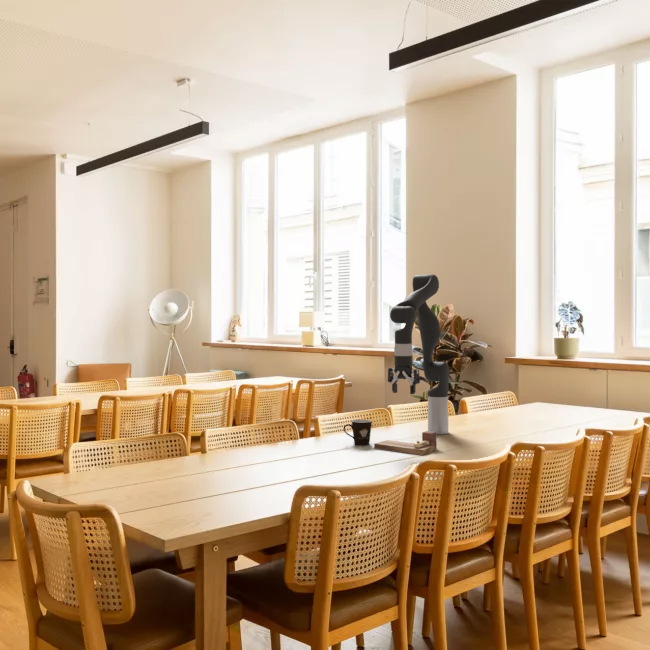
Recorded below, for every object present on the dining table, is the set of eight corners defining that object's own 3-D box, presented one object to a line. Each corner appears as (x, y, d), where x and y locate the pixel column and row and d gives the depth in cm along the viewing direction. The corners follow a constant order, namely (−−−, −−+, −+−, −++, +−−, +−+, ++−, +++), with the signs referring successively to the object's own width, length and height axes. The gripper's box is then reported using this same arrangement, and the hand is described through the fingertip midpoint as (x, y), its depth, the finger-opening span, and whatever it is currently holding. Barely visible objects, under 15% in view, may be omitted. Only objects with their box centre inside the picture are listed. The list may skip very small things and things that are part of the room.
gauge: (427, 447, 298) (427, 431, 298) (436, 448, 296) (436, 432, 295) (411, 452, 288) (411, 435, 288) (420, 453, 286) (420, 436, 286)
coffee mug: (373, 442, 310) (373, 419, 310) (369, 446, 302) (369, 422, 301) (347, 441, 313) (347, 418, 313) (343, 445, 305) (342, 421, 304)
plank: (387, 444, 305) (387, 440, 305) (434, 451, 291) (434, 446, 291) (374, 448, 297) (374, 443, 297) (422, 455, 283) (422, 449, 283)
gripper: (422, 354, 295) (423, 393, 295) (394, 353, 304) (394, 391, 304) (413, 355, 289) (413, 395, 289) (384, 354, 298) (384, 393, 298)
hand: (403, 393), depth 297 cm, fingers open, 8 cm apart
